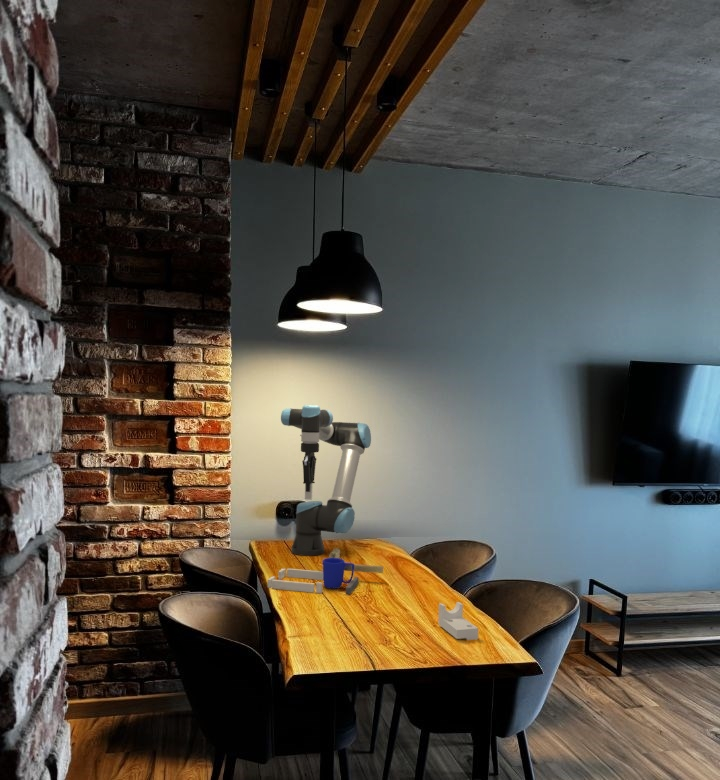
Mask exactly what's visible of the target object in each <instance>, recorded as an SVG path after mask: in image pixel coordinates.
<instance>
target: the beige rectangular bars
mask: <svg viewBox="0 0 720 780" xmlns="http://www.w3.org/2000/svg"><path fill="white" fill-rule="evenodd" d="M277 573H278V574H277V575H278V576H277V577H278V578H277V579H276V575H275V576H271V577H269V578H268V579H267V589H273V590H280V591H281V590H283V591H291V592H292V591H293V592H305V593H311V594H312V593H316V594H322V593H323V582H318V581H317V582H316V583H312V582H302V581H291V580H282V579H284V578H285V577H286V578H295V579H296V578H297V579H306V580H307V579H309V580H320V581H323V570H322V571H321V570H308V569H298V568H290V567H289V568H287V569H286V568H281V569H280V570H279V571H278V572H277ZM315 584H316V586H315ZM315 589H316V592H315Z"/></svg>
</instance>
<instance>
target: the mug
mask: <svg viewBox="0 0 720 780" xmlns="http://www.w3.org/2000/svg"><path fill="white" fill-rule="evenodd" d="M346 565H352V571H351V574H350V575H351V576H350V578H349V580H348V581H347V580H344V573H345V572H344V571H345V570H344V567H345V566H346ZM322 572H323V580H322V581H323V586H324V587H325V588H327V589H331V590H332V589H334V590H335V589H339V588H341V587H342V585H343V584H349V583H350V582H351V581H352V580H353V578H354V574H355V573H354V572H355V571H354V563H352V562H346V561H345V560H344V559H342V558H340V557H339V558H329V557H328V558H327V557H326V558H323V559H322Z"/></svg>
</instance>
